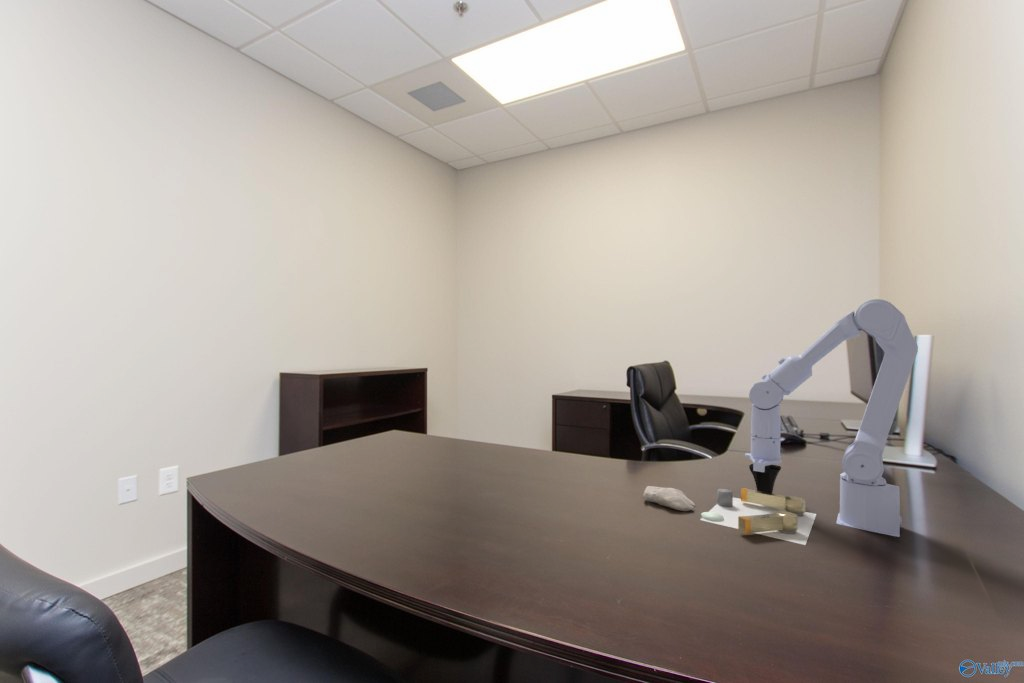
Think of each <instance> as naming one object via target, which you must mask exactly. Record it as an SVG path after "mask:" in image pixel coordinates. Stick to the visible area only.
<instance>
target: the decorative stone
mask: <svg viewBox="0 0 1024 683" xmlns="http://www.w3.org/2000/svg"><path fill="white" fill-rule="evenodd" d="M642 498H643V499H644V500H645V501H646V502H649V503H656V504H658V505H659V506H661V507H667V508H669V509H671V510H672V509H673V510H676V511H681V512H689V511H691V510H694V509H695V506H696V504H695V502H694V501H692V500H691V499H689V498H688V497H687V495H686V494H685V492H684V491H682V490H680V489H677V488H673V487H661V486H653V485H651V486H650V485H647V486H646V487H645V489H644V491H643V496H642Z"/></svg>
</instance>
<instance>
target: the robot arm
mask: <svg viewBox="0 0 1024 683" xmlns="http://www.w3.org/2000/svg"><path fill="white" fill-rule="evenodd" d="M861 331H862V332H864V333H865V334H867V336H870V337H872V338H873V339H874V340H875V342H876V343H877V344H878V346H879V347H880V348H881V349H882V351H883V352H884V354H883V358H882V361H881V362H880V363H881V364H880V367H879V370H878V373H877V375H876V379H875V381H874V385H873V387H872V390H871V393H870V397H869V399H868V402H867V404H866V407H865V409H864V410H865V411H864V414H863V415H862V419H861V422H860V425H859V428H858V430H857V433H856V436H855V439H854V441H853V442H852V443H851V444H850V445H848V446H847V447H846V449H845V450H844V452H843V457H842V459H841V460H842V461H841V466H842V469H843V472H842V473H840V474H839V478H840V479H839V512H838V513H837V518H836V523H835V524H836V525H839V526H844V527H847V528H853V529H859V530H863V531H868V532H872V533H877V534H882V535H888V536H892V537H898V538H899V537H901V535H900V534H901V533H900V530H901V528H900V527H902V522H903V520H902V518H903V517H902V516H901V504H900V503H901V501H900V500H901V496H900V495H901V491H900V490H901V489H900V486H898V485H894V484H890V483H887V480H886V478H884V477H883V474H884V471H885V468H884V463H883V462H884V460H883V459H884V458H883V455H884V451H885V447H886V443H887V439H888V436H889V434H890V432H891V431H890V430H891V427H892V425H893V422H894V420H895V416H896V414H897V411H898V408H899V405H900V402H901V400H902V397H903V394H904V390H905V388H906V385H907V383H908V380H909V377H910V374H911V371H912V368H913V365H914V364H915V359H916V357H917V355H918V352H919V351H918V349H919V346H918V344H917V341H916V339H915V337H914V335H913V333H912V331H911V329H910V326H909V324H908V322H907V319H906V317H905V314H903V313H902V312H901V311H900V310H899V309H898V308H897V307H896V306H895V305H894V304H893V303H891V301H888V300H886V299H882V298H881V299H880V298H878V299H877V298H875V299H870V300H866V301H864V302H863V303H862V304H860V305H859V306H858V308H857V309H856V311H855V310H852V311H851V312H849V313H847V314H846V315H845V316H843V317H842V318H840V319H839V320H838V321H836V322H835V323H834V324H833V325H832V326H831V327H829V328H828V329H827V330H826V331H824V333H823V334H822V335H821V336H819V337H818V338H817V339H816V340H815V341H814V342H813V343H812V344H811V345H810V346H809V347H807V349H806V350H804V351H803V352H802V353H801V354H800V355H791V356H788V357H787V358H786V359H785V358H784V357H783V358H781V359H780V360H778V365H777V366H776V367H775V368H774V369H773V370H771V372H770V373H768V374H763V375H762V376H761V379H762V380H763V381H758V382H755V383H754V384H753V386H752V387H751V389H750V390H749V394H748V396H749V400H750V403H752V404H751V415H750V453H749V452H746V453H745V454H744V458H746V459H750V461H751V462H752V463H750V464H749V465H748V468H749V471H750V472H751V475H752V477H753V479H754V483H755V488H756V491H762V492H767V493H772V494H773V492H774V487H775V482H776V479H777V476H778V475H779V473H780V471H781V469H782V466H780V465H778V464H780V463H782V458H781V440H782V439H781V427H782V426H781V425H782V424H781V422H782V421H781V414H780V413H781V412H780V411H781V409H780V408H781V406H780V404H781V403H782V402H783V400H784V396H789V395H790V394H791V393H793V392H794V391H795V390H796V389H798V387H800V386H802V385H803V383H805V382H806V381H807V380H808V379H810V378H812V376H813V366H815V365H816V364H817V363H818V362H819V361H821V359H823V358H824V357H825V356H827V355H828V354H829V353H830V352H832V351H833V350H834V349H836V348H837V347H838V346H840V345H841V344H842V343H843V342H845V341H846V340H850V339H855V338H859V337H862V336H863V335H862V332H861ZM776 464H777V465H776Z"/></svg>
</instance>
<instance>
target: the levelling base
mask: <svg viewBox="0 0 1024 683" xmlns="http://www.w3.org/2000/svg"><path fill="white" fill-rule="evenodd" d="M733 495H734V491H733V490H730V489H727V488H718V489H717V496H716V497H717V499H716V502H717V503H716V504H715V505H714V506H713V507H711V509H710V510H709V511H703V512H701V513H700V519H699V520H700V521H702V522H706V523H709V524H710V523H711V524H715V525H718V526H723V527H728V528H732V529H736V530H738V516H753V515H764V514H775V512H776V511H787V510H785V509H780V508H775V507H770V506H765V505H760V504H755V503H750V502H744V501H741V498H739V497H734V496H733ZM787 512H789V511H787ZM791 513H793V512H791ZM794 514H796V515H797V516H798V530H797V531H786V530H775V531H766V532H756V533H755V534H757V535H762V536H765V537H769V538H773V539H778V540H782V541H785V542H790V543H794V544H798V545H801V546H807V542H808V539H809V537H810V534H811V531H812V527H813V525H814V523H815V521H816V517H817V513H814V512H808V511H805V513H802V514H799V513H794Z"/></svg>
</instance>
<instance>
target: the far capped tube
mask: <svg viewBox="0 0 1024 683" xmlns="http://www.w3.org/2000/svg"><path fill="white" fill-rule="evenodd" d="M740 499H741V501H744V502H750V503H755V504H760V505H765V506H770V507H775V508H780V509H785V510H787V511H789V512H793V513H799V514H802V513H805V512H806V499H804V498H803V497H800V496H795V495H794V496H793V495H784V494H783V495H782V494H776V493H773V492H772V493H767V492H762V491H757V489H756V490H755V489H750V488H747V487H741V489H740Z"/></svg>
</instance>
